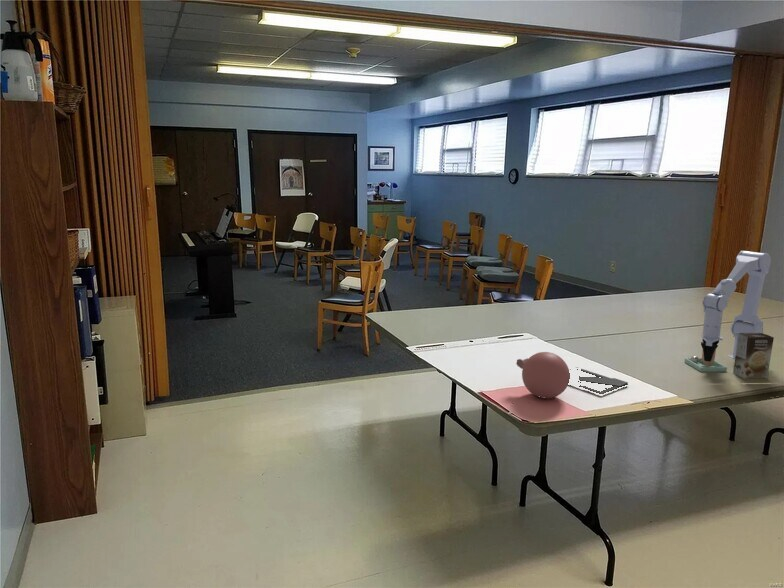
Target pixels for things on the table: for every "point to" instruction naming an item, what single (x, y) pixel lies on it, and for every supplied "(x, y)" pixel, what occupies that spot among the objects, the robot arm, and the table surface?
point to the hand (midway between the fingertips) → (708, 359)
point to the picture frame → (602, 382)
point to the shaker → (708, 361)
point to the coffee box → (753, 355)
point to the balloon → (544, 374)
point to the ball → (694, 359)
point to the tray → (703, 368)
